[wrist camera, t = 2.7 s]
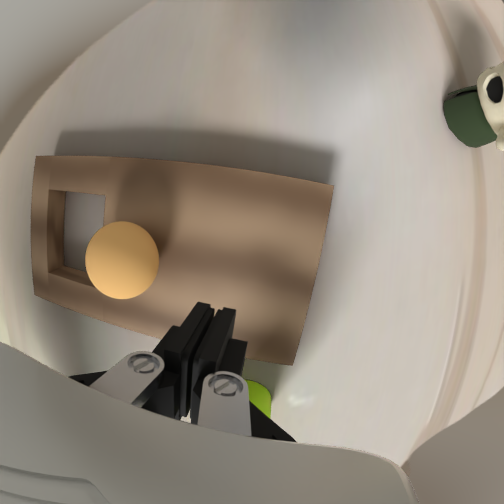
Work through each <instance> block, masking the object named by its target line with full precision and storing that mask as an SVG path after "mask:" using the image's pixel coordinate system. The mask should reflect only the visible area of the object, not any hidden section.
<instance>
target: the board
mask: <svg viewBox="0 0 504 504" xmlns="http://www.w3.org/2000/svg"><path fill="white" fill-rule="evenodd" d="M333 189H334V186H333V185H328V184H323V183H319V182H314V181H309V180H303V179H298V178H293V177H287V176H282V175H276V174H270V173H264V172H258V171H251V170H245V169H238V168H231V167H223V166H216V165H207V164H199V163H190V162H180V161H169V160H158V159H144V158H129V157H108V156H36V159H35V167H34V176H33V187H32V203H31V258H32V274H33V285H34V294H35V295H36V296H39V297H41V298H43V299H46V300H48V301H50V302H53V303H55V304H58V305H60V306H63V307H65V308H68V309H71V310H73V311H76V312H78V313H81V314H84V315H87V316H89V317H92V318H95V319H98V320H101V321H104V322H107V323H110V324H113V325H116V326H119V327H122V328H125V329H129V330H132V331H135V332H139V333H142V334H145V335H149V336H152V337H156V338H160V339H162V338H163V337H164V336H165V334H166V333H167V332H168V330H169V329H170V328H171V327H172V326H173V325H175V326H179V327H180V326H181V324H182V323H183V322H184V320H185V319H186V317H187V316H188V315H189V313H190V312H191V310H192V309H193V307H194V306H195V305H196V303H197V302H203V303H207V304H211V308H215V313H214V316H215V314H216V312H217V310H218V309H220V310H222V309H223V307H227V308H232V309H236V317H235V323H234V329H233V336H232V338H233V339H238V340H243V341H248V344H247V349H246V355H245V358H248V359H253V360H259V361H265V362H271V363H277V364H284V365H291V366H293V363H294V359H295V356H296V352H297V349H298V345H299V341H300V338H301V334H302V330H303V327H304V323H305V319H306V315H307V311H308V307H309V303H310V299H311V295H312V291H313V287H314V282H315V278H316V274H317V269H318V265H319V260H320V256H321V251H322V246H323V242H324V237H325V232H326V227H327V222H328V216H329V211H330V206H331V200H332V194H333ZM66 191H70V192H79V193H89V194H97V195H106V198H105V209H104V223H103V227H104V226H105V225H107V224H110V223H113V222H119V221H125V222H131V223H134V224H137V225H138V226H140V227H142V228H143V229H145V230H146V231H147V232H148V233H149V234H150V236H151V237H152V238H153V240H154V242H155V244H156V246H157V249H158V254H159V267H158V272H157V275H156V277H155V279H154V281H153V283H152V284H151V285H150V287H149V288H148V289H147V290H146V291H144V292H143V293H141V294H140V295H138V296H136V297H133V298H129V299H116V298H112V297H109V296H107V295H105V294H103V293H102V292H100V291H99V290H98V289H97V288H96V287H95V286H94V285H93V283H92V282H91V280H90V278H89V276H88V273H87V272H83V271H80V270H76V269H73V268H70V267H66V266H64V211H65V196H66Z"/></svg>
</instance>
